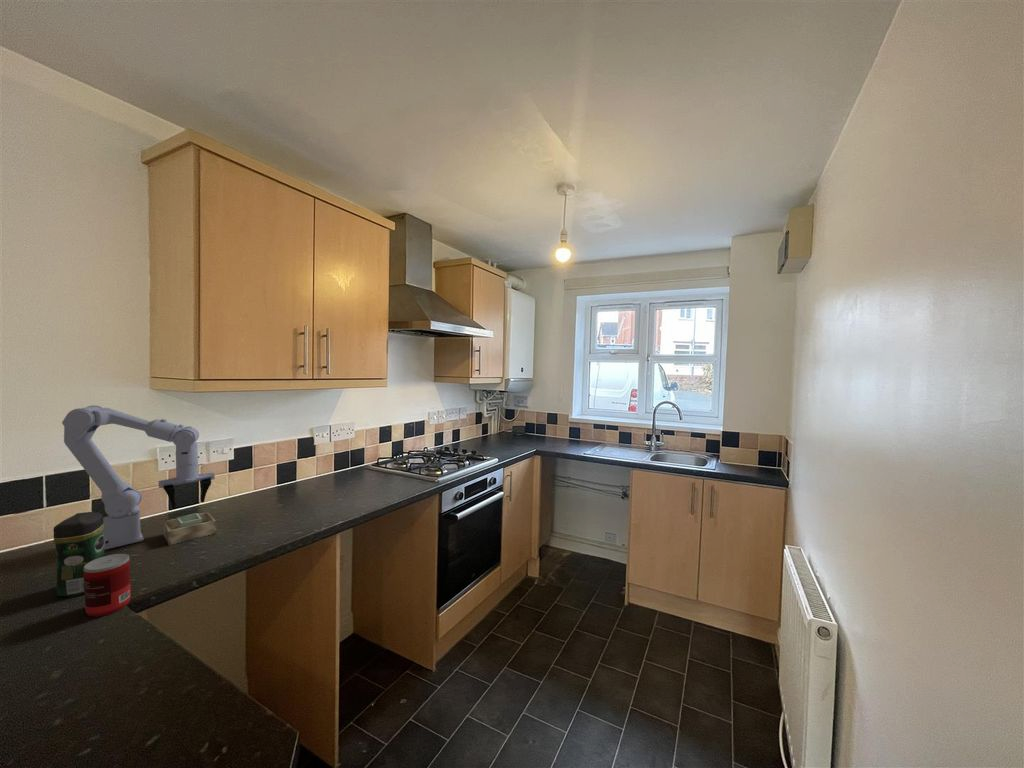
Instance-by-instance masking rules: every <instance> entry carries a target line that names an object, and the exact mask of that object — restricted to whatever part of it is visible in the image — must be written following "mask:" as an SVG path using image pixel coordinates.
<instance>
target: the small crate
mask: <svg viewBox="0 0 1024 768" xmlns="http://www.w3.org/2000/svg"><path fill="white" fill-rule="evenodd" d="M198 514H199V513H198V512H195V513H191V514H186V515H182V516H177V517H176V519H177V529H179V528H183V527H188V526H192V525H197V524H201V523H202V518H201V517H200V516H199V515H198Z"/></svg>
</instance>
